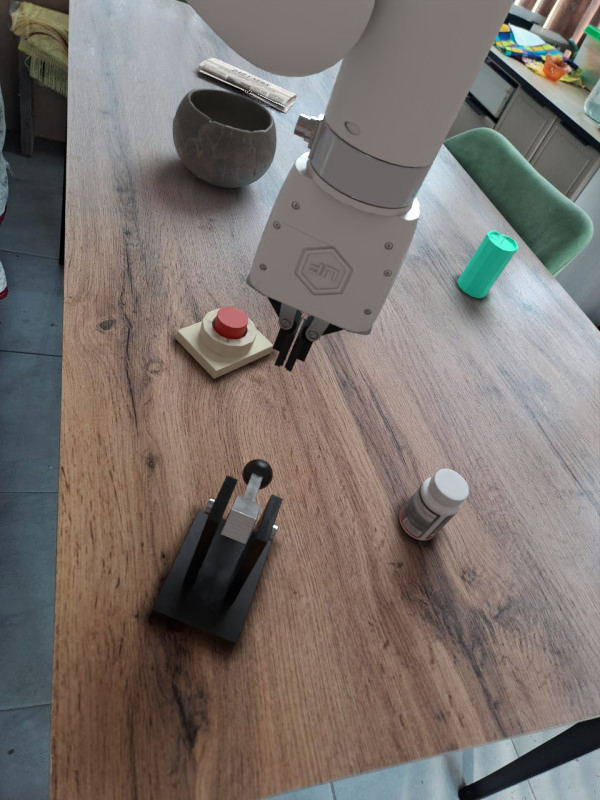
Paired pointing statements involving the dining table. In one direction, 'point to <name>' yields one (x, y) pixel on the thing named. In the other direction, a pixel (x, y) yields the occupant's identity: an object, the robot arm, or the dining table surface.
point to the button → (230, 322)
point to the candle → (487, 264)
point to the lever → (247, 501)
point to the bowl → (224, 137)
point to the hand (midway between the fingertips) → (286, 358)
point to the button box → (222, 346)
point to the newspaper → (248, 83)
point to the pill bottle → (433, 504)
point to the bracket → (216, 572)
